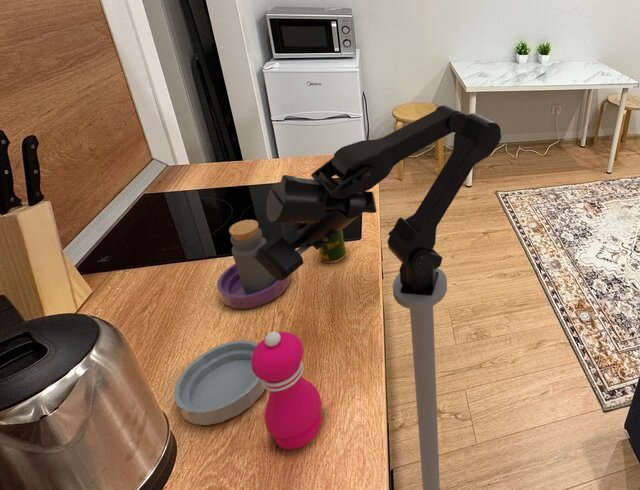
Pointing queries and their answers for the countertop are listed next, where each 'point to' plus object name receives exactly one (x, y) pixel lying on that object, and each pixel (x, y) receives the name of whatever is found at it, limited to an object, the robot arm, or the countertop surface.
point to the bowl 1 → (236, 295)
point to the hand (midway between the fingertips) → (290, 250)
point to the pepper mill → (287, 390)
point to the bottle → (249, 256)
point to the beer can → (333, 249)
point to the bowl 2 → (218, 384)
